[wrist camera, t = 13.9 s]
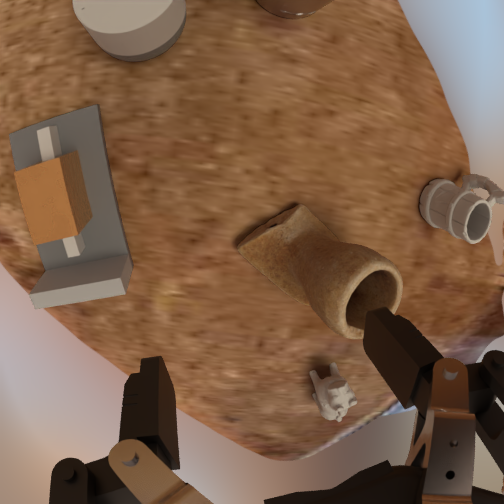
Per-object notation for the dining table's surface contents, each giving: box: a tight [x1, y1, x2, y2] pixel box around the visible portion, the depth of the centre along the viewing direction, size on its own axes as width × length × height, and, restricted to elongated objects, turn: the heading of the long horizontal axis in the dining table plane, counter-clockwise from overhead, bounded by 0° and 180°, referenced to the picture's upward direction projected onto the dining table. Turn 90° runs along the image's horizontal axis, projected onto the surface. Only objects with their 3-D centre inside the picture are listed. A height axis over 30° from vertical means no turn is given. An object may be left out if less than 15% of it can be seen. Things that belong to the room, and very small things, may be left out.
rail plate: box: [9, 104, 134, 309], centre depth 31 cm, size 20×12×7 cm, turn 6°
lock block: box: [14, 150, 93, 245], centre depth 30 cm, size 8×6×6 cm
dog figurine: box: [309, 362, 357, 422], centre depth 49 cm, size 5×13×11 cm, turn 13°
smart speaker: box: [73, 0, 186, 62], centre depth 22 cm, size 10×9×14 cm
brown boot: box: [237, 204, 403, 339], centre depth 36 cm, size 15×12×15 cm
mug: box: [419, 174, 504, 244], centre depth 39 cm, size 8×12×12 cm, turn 131°
